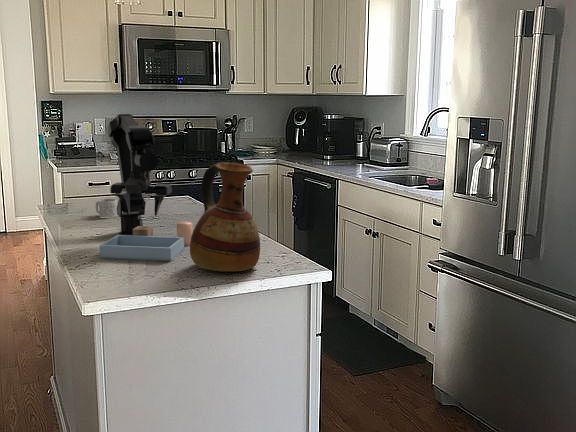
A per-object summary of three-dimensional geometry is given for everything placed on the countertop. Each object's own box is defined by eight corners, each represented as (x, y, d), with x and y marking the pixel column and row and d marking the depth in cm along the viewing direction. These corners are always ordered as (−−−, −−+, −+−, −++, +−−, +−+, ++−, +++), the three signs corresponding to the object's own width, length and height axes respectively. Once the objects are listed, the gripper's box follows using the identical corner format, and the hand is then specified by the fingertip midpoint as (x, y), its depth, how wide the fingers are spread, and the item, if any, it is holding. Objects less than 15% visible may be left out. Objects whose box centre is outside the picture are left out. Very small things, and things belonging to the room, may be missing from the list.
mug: (121, 216, 248) (120, 199, 247) (107, 219, 242) (107, 202, 241) (103, 213, 253) (102, 197, 252) (90, 216, 248) (89, 199, 246)
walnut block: (133, 244, 205) (132, 229, 204) (138, 240, 210) (138, 225, 209) (148, 244, 205) (147, 229, 204) (153, 241, 210) (152, 226, 209)
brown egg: (175, 245, 204) (174, 224, 202) (179, 241, 208) (179, 221, 207) (190, 246, 203) (189, 224, 202) (194, 242, 208) (194, 221, 206)
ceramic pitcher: (233, 282, 166) (231, 169, 160) (175, 270, 176) (171, 163, 170) (274, 265, 182) (274, 161, 176) (218, 255, 192) (217, 156, 186)
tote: (100, 258, 188) (99, 245, 187) (117, 247, 201) (117, 234, 200) (170, 261, 185) (170, 248, 184) (184, 249, 198) (183, 237, 198)
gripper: (102, 169, 196) (104, 219, 199) (160, 171, 193) (162, 221, 197) (116, 165, 206) (118, 212, 210) (171, 166, 204) (173, 214, 207)
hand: (142, 215), depth 206 cm, fingers open, 9 cm apart
